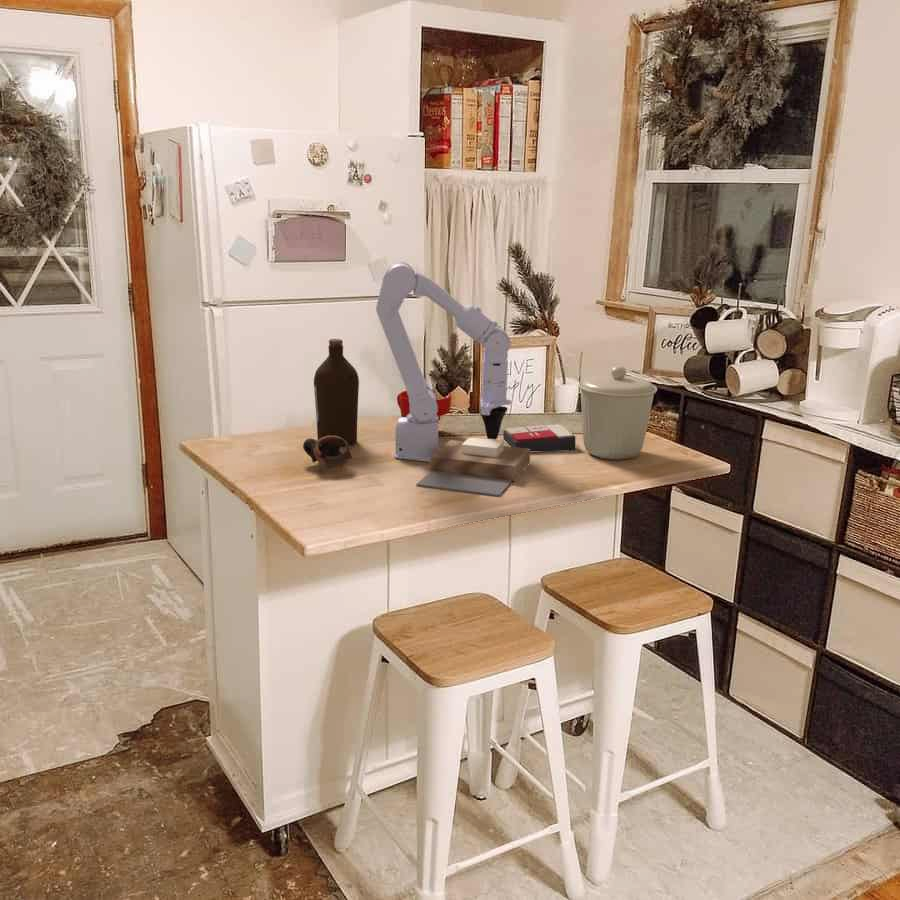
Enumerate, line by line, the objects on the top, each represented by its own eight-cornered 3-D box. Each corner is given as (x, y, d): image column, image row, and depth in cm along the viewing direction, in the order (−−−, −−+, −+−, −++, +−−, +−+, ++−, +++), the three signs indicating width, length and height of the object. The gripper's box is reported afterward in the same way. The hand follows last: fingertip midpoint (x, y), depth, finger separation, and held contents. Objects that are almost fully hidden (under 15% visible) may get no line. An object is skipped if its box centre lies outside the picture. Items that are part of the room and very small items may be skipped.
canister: (558, 451, 214) (563, 363, 207) (609, 439, 224) (615, 356, 218) (615, 470, 200) (622, 377, 194) (667, 456, 211) (675, 368, 205)
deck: (430, 471, 196) (430, 456, 195) (450, 454, 209) (450, 439, 208) (514, 482, 191) (515, 466, 190) (529, 463, 203) (530, 448, 202)
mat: (416, 485, 187) (416, 484, 187) (431, 472, 196) (431, 470, 196) (499, 496, 182) (499, 494, 181) (511, 482, 191) (511, 480, 190)
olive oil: (363, 437, 221) (363, 337, 214) (353, 450, 211) (352, 344, 204) (321, 435, 222) (319, 335, 215) (309, 447, 212) (307, 342, 205)
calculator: (502, 427, 221) (560, 421, 224) (503, 444, 222) (560, 438, 225) (515, 439, 210) (576, 433, 213) (515, 456, 212) (576, 450, 215)
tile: (461, 453, 198) (461, 444, 198) (469, 445, 204) (469, 437, 203) (496, 457, 196) (496, 448, 195) (503, 449, 201) (503, 441, 201)
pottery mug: (359, 464, 202) (360, 439, 196) (339, 493, 196) (340, 468, 190) (311, 446, 204) (311, 420, 198) (291, 474, 198) (290, 448, 192)
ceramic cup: (417, 420, 238) (417, 383, 235) (461, 434, 226) (461, 395, 223) (378, 428, 229) (378, 390, 226) (422, 443, 217) (422, 403, 215)
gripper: (503, 388, 195) (500, 448, 199) (519, 376, 208) (516, 432, 212) (472, 385, 197) (470, 445, 201) (490, 373, 210) (488, 429, 214)
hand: (492, 438), depth 207 cm, fingers closed
